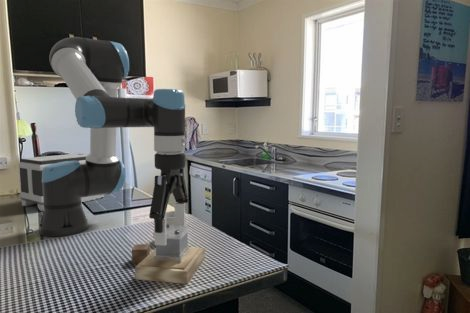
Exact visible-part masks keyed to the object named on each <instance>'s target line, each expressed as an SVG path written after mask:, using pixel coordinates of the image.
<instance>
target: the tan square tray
mask: <svg viewBox="0 0 470 313" xmlns="http://www.w3.org/2000/svg"><path fill="white" fill-rule="evenodd" d="M189 247H190V252H189V253H188V254H187V256H186V257H185V258H184V259H183V261H182V262H169V261H156V260H154V255H155V254H156V248H154V250H152V251H150V254H149V255H148V256H147V257H146V258H145V259H144V260H143V261H141V262H140V263H139V264H136V266H135V267H134V271H135V272H134V273H135V276H134V277H135V280H137V281H138V280H140V281H148V282H149V281H152V282H161V283H162V282H163V283H175V284H183V285H184V284H185V285H188V284H189V282H190V281H191V279H192V278H193V276H194V275H195V274H196V272H197V270H198V269H199V268H200V266H201V264H203V261H204V260H205V257H206V256H205V255H206V254H205V252H206V250H205V247H195V246H194V247H193V246H189Z"/></svg>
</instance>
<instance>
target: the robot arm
mask: <svg viewBox="0 0 470 313" xmlns="http://www.w3.org/2000/svg"><path fill="white" fill-rule="evenodd" d="M48 58H49V64H50V67H51V69H52V70H53V72H54V73H55V74H56V76H59V78H62V79H63V81H64V82H65V84H66V86H67V87H68V89H69V90H70V92H71V93H72V95H73V97H74V98H75V100H76V101H75V104H74V113H75V114H74V115H75V118H76V123H77V125H79V126H80V127H81V128H84V129H88V128H89V129H90V130H89V131H90V133H89V134H90V138H89V139H90V140H89V141H90V144H89V146H90V147H89V148H90V149H89V153H88V154H89V155H88V156H87V157H86V163H85V164H80V163H79V161H65V162H59V163H54V164H51V165H48V166H46V167H44V169H43V170H42V185H43V200H44V211H42V215H41V220H40V223H39V226H38V229H39V235H41V236H44V237H64V236H71V235H75V234H78V233H81V232H84V231H85V230H87V229H88V228H89V220H88V218H87V216H86V214H85V211H84V209H83V206H82V204H83V203H81V198H82V197H89V196H96V195H104V196H105V195H111V194H115V193H118V192H120V191H121V190H122V189H123V187H124V185H125V182H126V177H127V176H126V175H127V174H126V173H127V172H126V166H125V164H124V163H123V162H122V161H121V159H120V157H119V156H118V155H117V152H116V150H117V147H116V146H117V128H118V129H119V128H153V132H154V133H153V150H154V152H156V153H155V154H154V155H153V156H154V168H155V169H157V170H160V175H155V176H154V187H153V192H152V199H151V204H150V210H149V216H148V217H149V219H153V225H154V226H153V228H154V229H153V230H154V231H153V233H154V246H156V245H163V246H166V245H167V237H166V218H164V217H165V213H166V212H167V208H168V203H169V201H170V196H171V194H172V195H173V197H174V200H175V203H174V211H175V225H180V226H186V222H185V213H186V204H189V196H188V190H187V185H186V180H185V173H184V172H185V171H184V170H185V167H186V154H185V152H184V151H186V144H187V142H188V141H187V139H186V136H185V135H186V103H185V93H184V90H183V89H177V88H176V89H175V88H157V89H155V90H154V91H153V96H152V98H145V97H144V98H143V97H142V98H141V97H139V98H138V97H119V96H118V88H119V87H120V86H121V85H122V84H123V79H125V78H126V77H128V75H129V72H130V59H129V55H128V52H127V50H126V48H125V47H124V46H123V44H121V43H119V42H115V41H110V40H102V39H94V38H88V37H82V36H81V37H80V36H70V37H66V38H63V39H61V40H60V39H59V41H57V42H56V43H55V44H54V45H53V46H52V47H51V50H50V52H49V56H48Z"/></svg>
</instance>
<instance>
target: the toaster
mask: <svg viewBox="0 0 470 313" xmlns="http://www.w3.org/2000/svg"><path fill="white" fill-rule="evenodd" d="M89 154H90V153H81V152H78V153H69V154H58V155H46V156H35V157H23V158H21V159H20V162H19V163H18V168H19V181H20V192H19V198H20V200H21V202H20V203H21V206H22V207H30V206H34V204H35V205H37V208H38V209H39V211H40V212H44V200H43V185H42V170H43V169H44V167H46V166H48V165H51V164H54V163H59V162H65V161H79V163H80V164H85V163H86V157H87V156H88V155H89ZM101 197H104V198H105V194H104V195H96V196H89V197H82V198H81V204H83V203H82V202H85V201H89V200H92V199H96V198H101ZM89 202H90V201H89ZM85 203H86V202H85Z"/></svg>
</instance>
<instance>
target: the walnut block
mask: <svg viewBox="0 0 470 313" xmlns="http://www.w3.org/2000/svg"><path fill="white" fill-rule="evenodd" d="M150 248H151V246H150V243H143V244H140V243H139V244H134V245H133V247H132V249H131V265H138V264H139V263H140V262H141V261H143V260H144V259H145V258H146V257H147V256H148V255H149V254H150V253H151V249H150Z"/></svg>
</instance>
